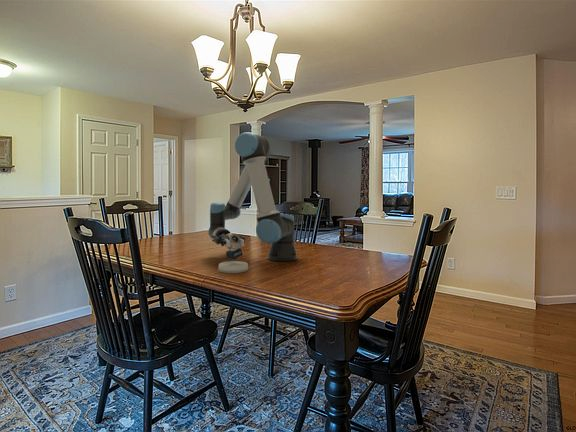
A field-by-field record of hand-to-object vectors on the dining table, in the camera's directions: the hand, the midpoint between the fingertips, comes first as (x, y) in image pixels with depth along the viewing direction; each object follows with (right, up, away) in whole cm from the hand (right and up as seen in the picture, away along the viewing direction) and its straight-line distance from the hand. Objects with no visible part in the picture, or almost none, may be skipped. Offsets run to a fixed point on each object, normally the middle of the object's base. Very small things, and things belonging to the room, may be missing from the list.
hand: (236, 243), depth 158 cm
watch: (-1, -7, +6) cm, 9 cm away
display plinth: (-2, -12, +6) cm, 14 cm away
